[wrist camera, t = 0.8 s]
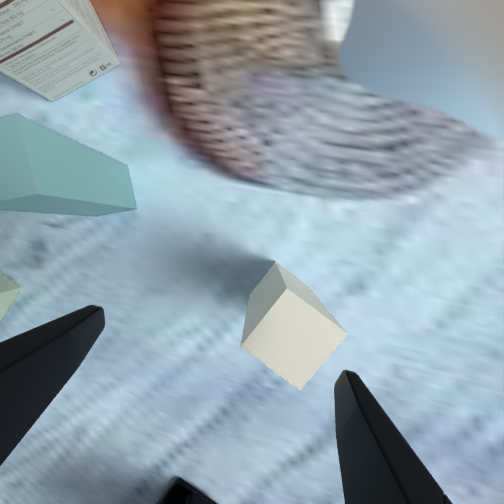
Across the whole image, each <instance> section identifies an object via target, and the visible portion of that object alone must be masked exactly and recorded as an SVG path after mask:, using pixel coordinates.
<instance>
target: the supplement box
mask: <svg viewBox="0 0 504 504" xmlns="http://www.w3.org/2000/svg"><path fill="white" fill-rule="evenodd" d="M119 65H120V62H119V60H118V58H117V56H116V54H115V51H114V49H113V47H112V45H111V43H110V41H109V39H108V37H107V35H106V33H105V31H104V29H103V27H102V24H101V22H100V20H99V18H98V16H97V14H96V12H95V10H94V8H93V6H92V4H91V2H90V0H0V72H2V73H3V74H5V75H7V76H9V77H10V78H12V79H14V80H15V81H17V82H19V83H20V84H22V85H24V86H25V87H27V88H29V89H31V90H32V91H34V92H36V93H37V94H39V95H41V96H43V97H44V98H46V99H48V100H49V101H55V100H57V99H59V98H61V97H63V96H65V95H67V94H69V93H70V92H72V91H74V90H76V89H78V88H80V87H81V86H83V85H85V84H87V83H89V82H91V81H92V80H94V79H96V78H98V77H100V76H102V75H103V74H105V73H107V72H108V71H110V70H112V69H114V68H116V67H117V66H119Z"/></svg>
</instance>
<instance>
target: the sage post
mask: <svg viewBox="0 0 504 504" xmlns="http://www.w3.org/2000/svg"><path fill="white" fill-rule="evenodd" d="M21 289H22V287H21V286H20V285H19V284H17V283H16V282H14V281H13V280H12V279H10V278H9V277H7V276H6V275H5V274H3V273H2V272H1V271H0V319H2V318H3V317H4V315H5V314H6V312H7V310H8V309H9V307H10V306H11V304H12V303H13V301H14V300H15V298H16V297H17V295H18V294H19V292H20V290H21Z"/></svg>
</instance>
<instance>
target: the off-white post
mask: <svg viewBox="0 0 504 504" xmlns="http://www.w3.org/2000/svg"><path fill="white" fill-rule="evenodd" d="M347 335H348V333H347V332H346V331H345V330H344V329H343V327H342V326H341V325H340V324H339V322H338V321H337V320H336V319H335V318H334V316H333V315H332V314H331V313H330V311H329V310H328V309H327V308H326V307H325V305H324V304H323V303H322V302H321V300H320V299H319V298H318V297H317V296H316V294H315V293H314V292H313V291H312V289H311V288H310V287H309V286H308V285H306V284H305V283H304V282H302V281H301V280H300V279H298V278H297V277H296V276H294V275H293V274H292V273H290V272H289V271H288V270H286V269H285V268H284V267H282V266H281V265H280V264H279V263H277V262H276V261H275V262H274V264H273V265H272V266H271V267H270V269H269V270H268V271H267V273H266V274H265V275H264V276H263V278H262V279H261V280H260V282H259V283H258V284H257V285H256V287H255V288H254V289H253V291H252V292H251V293H250V294H249V300H248V306H247V312H246V318H245V324H244V330H243V336H242V341H241V347H242V348H244V349H245V350H246V351H248V352H249V353H250V354H252V355H253V356H254V357H256V358H257V359H258V360H260V361H261V362H262V363H264V364H265V365H267V366H268V367H269V368H271V369H272V370H273V371H275V372H276V373H277V374H279V375H280V376H281V377H283V378H284V379H285V380H287V381H288V382H290V383H291V384H292V385H294V386H295V387H296V388H298V389H299V390H301V389H302V387H303V386H304V385H305V384H306V383H307V382H308V380H309V379H310V378H311V377H312V376H313V375H314V373H315V372H316V371H317V370H318V369H319V367H320V366H321V365H322V364H323V363H324V362H325V360H326V359H327V358H328V357H329V356H330V355H331V353H332V352H333V351H334V350H335V349H336V347H337V346H338V345H339V344H340V343H341V342H342V340H343V339H344V338H345V337H346V336H347Z"/></svg>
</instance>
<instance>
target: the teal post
mask: <svg viewBox="0 0 504 504" xmlns="http://www.w3.org/2000/svg"><path fill="white" fill-rule="evenodd" d="M133 209H137V207H136V203H135V198H134V193H133V189H132V184H131V180H130V175H129V170H128V166H127V165H126V164H124V163H122V162H120V161H118V160H115V159H113V158H111V157H109V156H107V155H105V154H103V153H100V152H98V151H96V150H94V149H92V148H90V147H88V146H85V145H83V144H81V143H79V142H77V141H75V140H73V139H70V138H68V137H66V136H64V135H62V134H60V133H58V132H56V131H53V130H51V129H49V128H47V127H45V126H43V125H41V124H38V123H36V122H34V121H32V120H30V119H28V118H26V117H23V116H21V115H19V114H12V115H7V116H3V117H0V210H8V211H23V212H38V213H52V214H67V215H82V216H101V215H106V214H112V213H117V212H123V211H128V210H133Z"/></svg>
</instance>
